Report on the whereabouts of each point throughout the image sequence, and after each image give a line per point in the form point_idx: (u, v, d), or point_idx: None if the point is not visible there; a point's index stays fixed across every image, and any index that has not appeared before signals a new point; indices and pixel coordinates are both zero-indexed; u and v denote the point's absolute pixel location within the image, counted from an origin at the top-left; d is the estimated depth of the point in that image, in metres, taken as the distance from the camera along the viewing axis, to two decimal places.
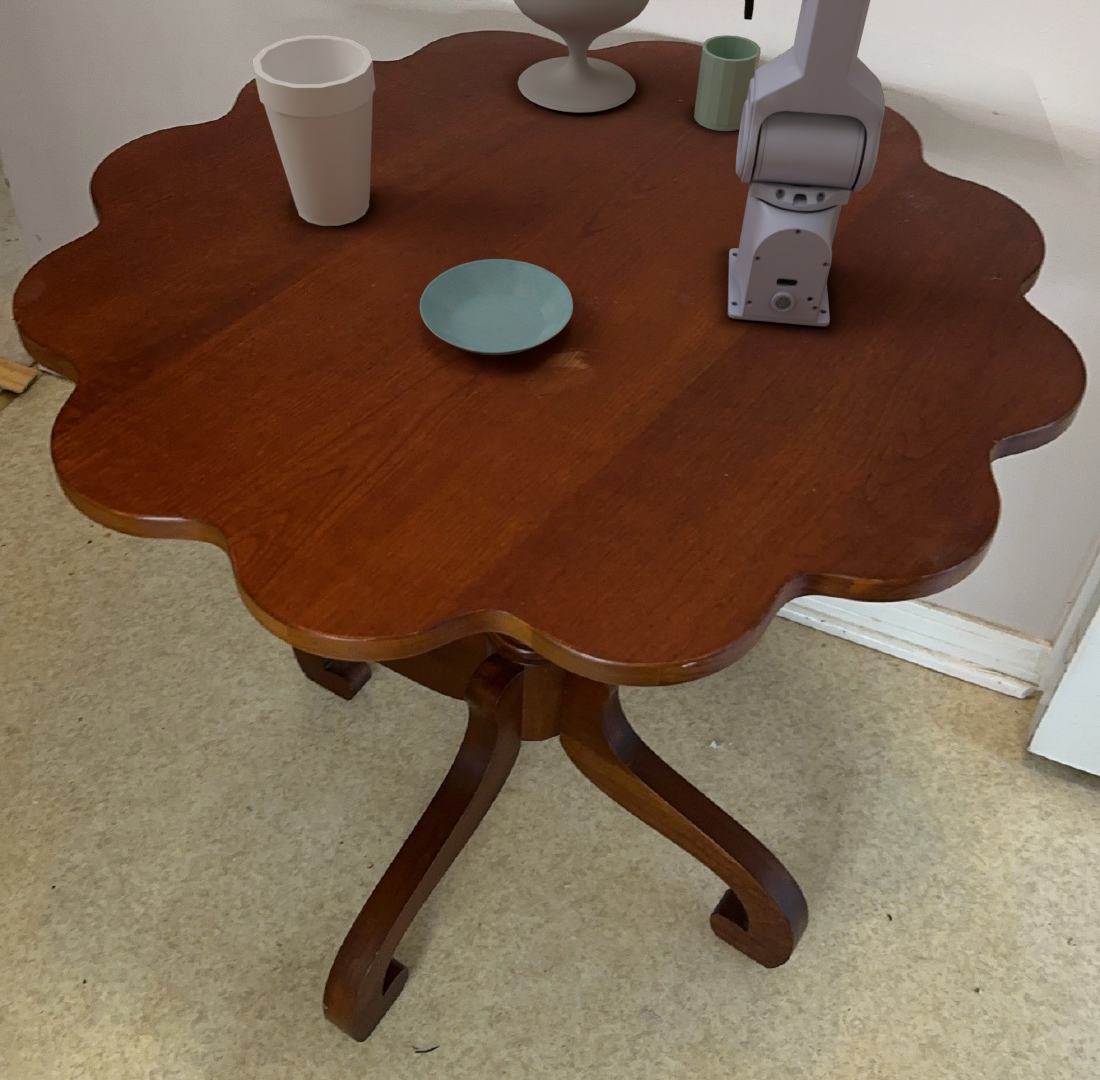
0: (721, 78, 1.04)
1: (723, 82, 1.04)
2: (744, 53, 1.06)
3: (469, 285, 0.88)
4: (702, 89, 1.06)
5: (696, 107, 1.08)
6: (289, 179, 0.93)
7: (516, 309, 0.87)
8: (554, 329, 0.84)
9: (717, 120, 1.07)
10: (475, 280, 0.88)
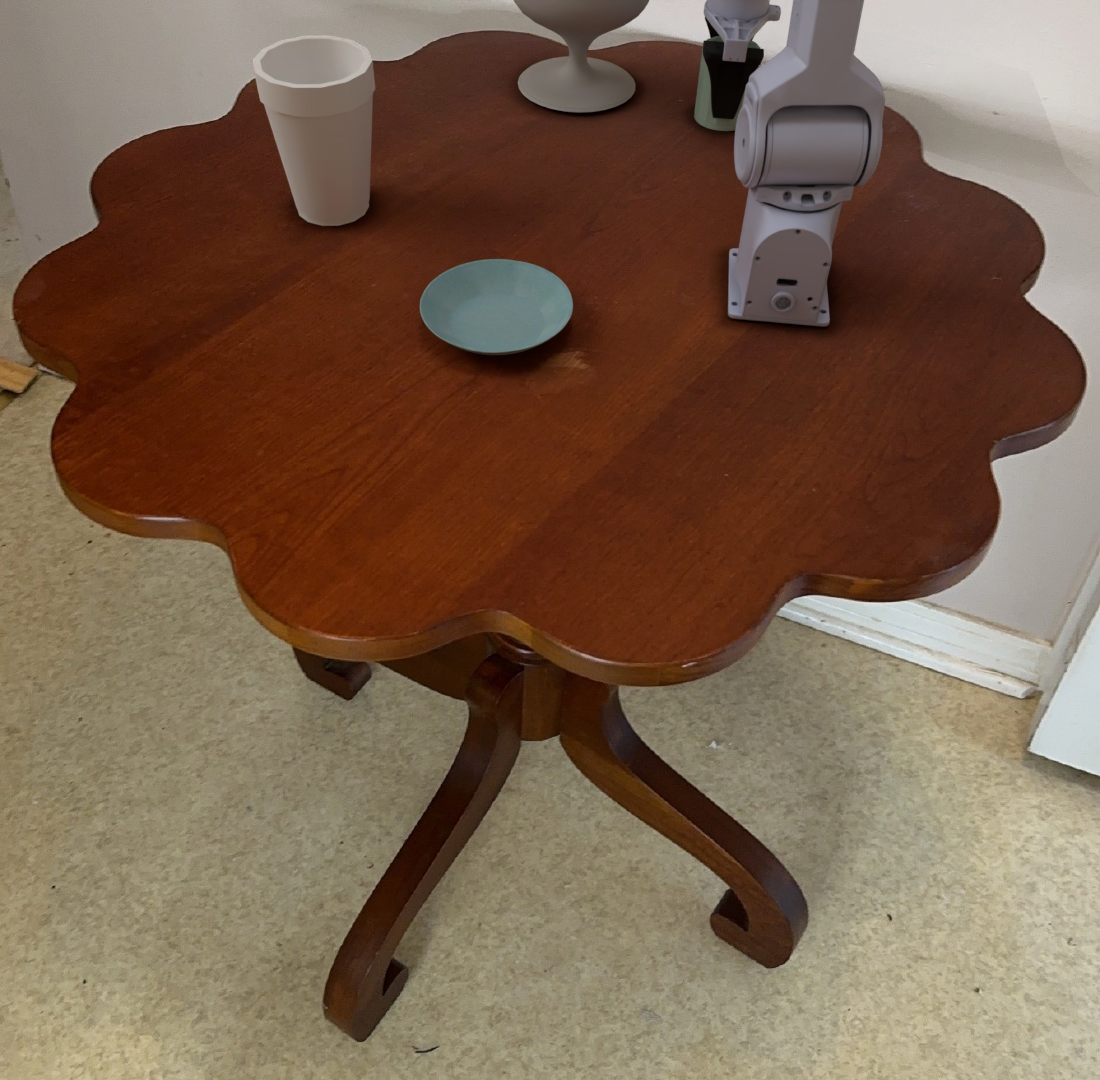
0: None
1: None
2: None
3: (469, 285, 0.88)
4: (702, 88, 1.06)
5: (696, 107, 1.08)
6: (289, 179, 0.93)
7: (516, 309, 0.87)
8: (554, 329, 0.84)
9: (717, 120, 1.07)
10: (475, 280, 0.88)
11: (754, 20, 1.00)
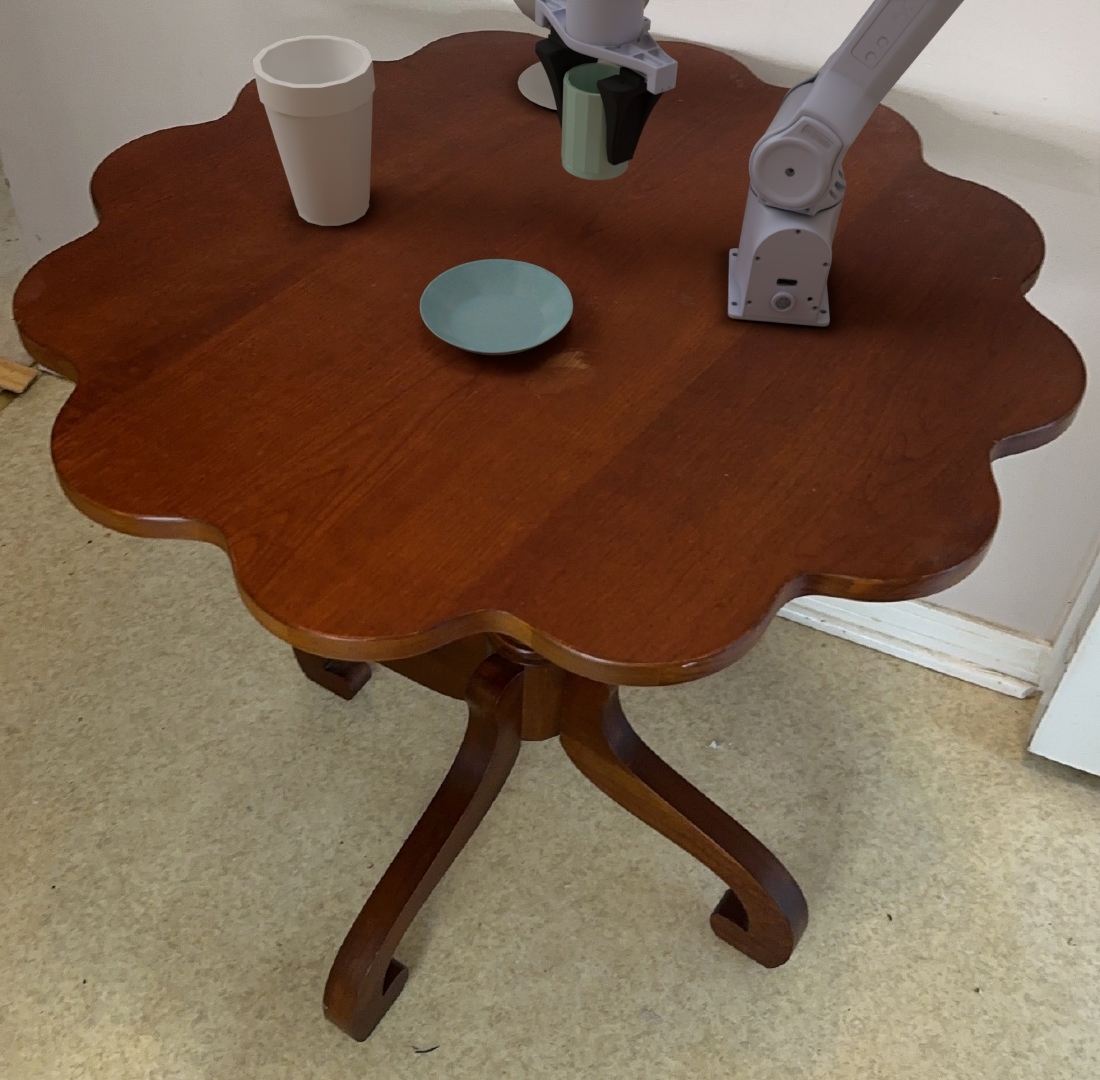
0: None
1: None
2: (596, 81, 0.87)
3: (469, 285, 0.88)
4: (586, 137, 0.85)
5: (576, 162, 0.87)
6: (289, 179, 0.93)
7: (516, 309, 0.87)
8: (554, 329, 0.84)
9: (612, 166, 0.87)
10: (475, 280, 0.88)
11: (641, 37, 0.81)
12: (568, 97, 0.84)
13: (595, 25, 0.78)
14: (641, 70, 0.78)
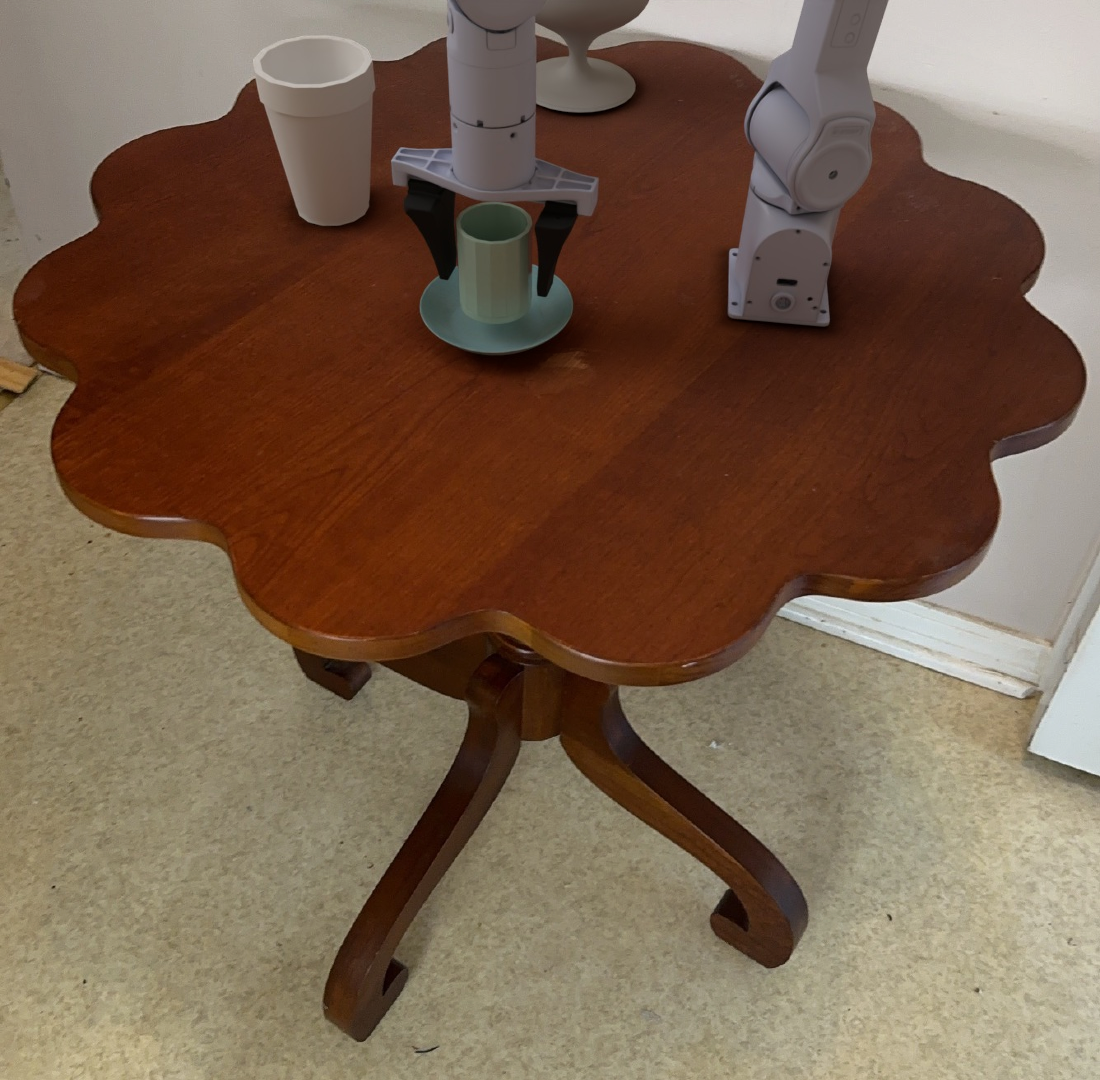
0: (526, 254, 0.79)
1: (528, 257, 0.80)
2: (472, 223, 0.81)
3: None
4: (505, 284, 0.80)
5: (496, 310, 0.81)
6: (289, 179, 0.93)
7: None
8: (554, 329, 0.84)
9: (527, 300, 0.83)
10: None
11: (535, 164, 0.77)
12: (477, 252, 0.78)
13: (508, 170, 0.73)
14: (570, 198, 0.75)
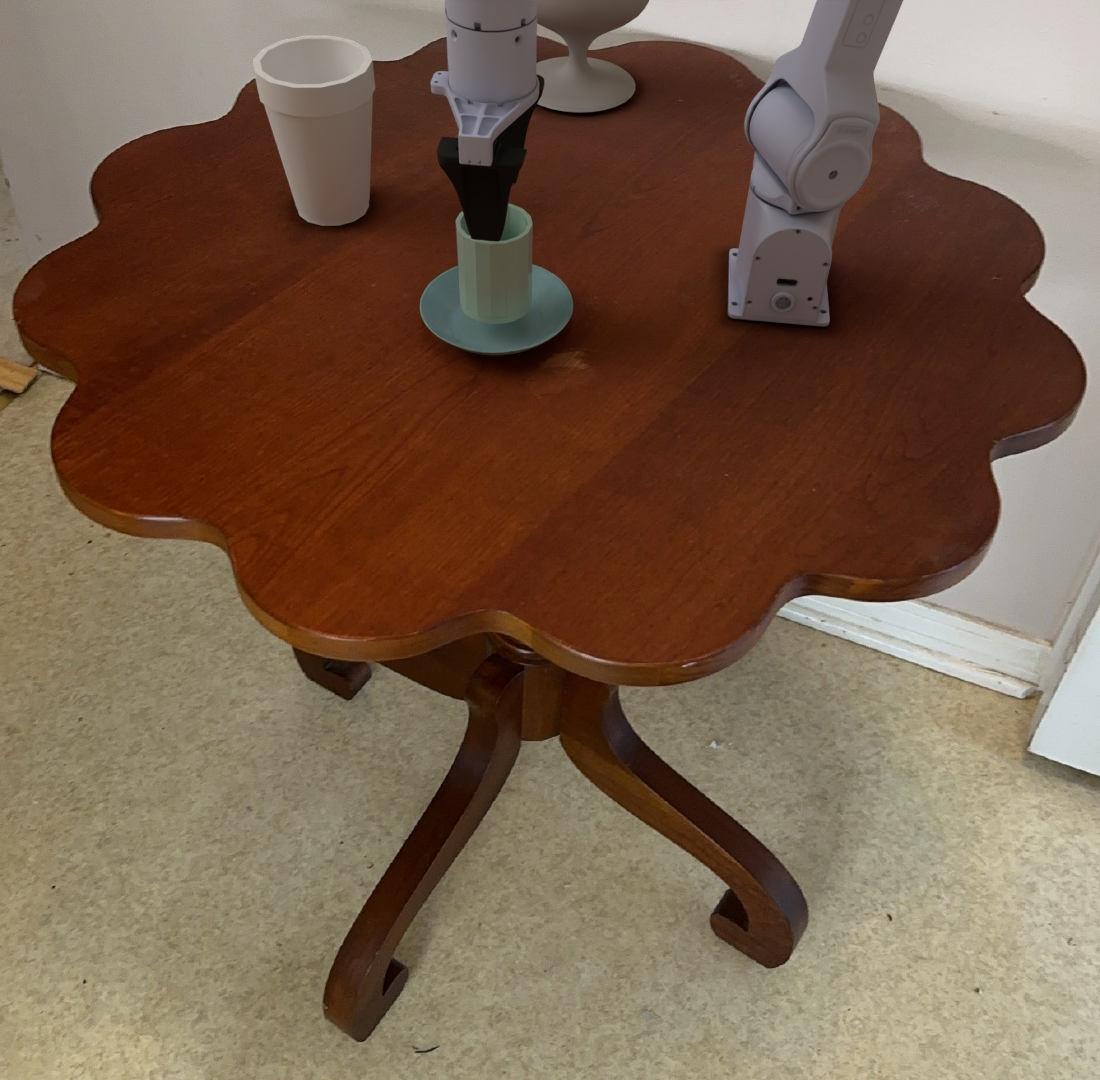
0: (527, 254, 0.79)
1: (528, 257, 0.80)
2: None
3: None
4: (505, 284, 0.80)
5: (496, 310, 0.81)
6: (289, 179, 0.93)
7: None
8: (554, 329, 0.84)
9: (528, 300, 0.83)
10: None
11: None
12: (477, 252, 0.78)
13: None
14: None
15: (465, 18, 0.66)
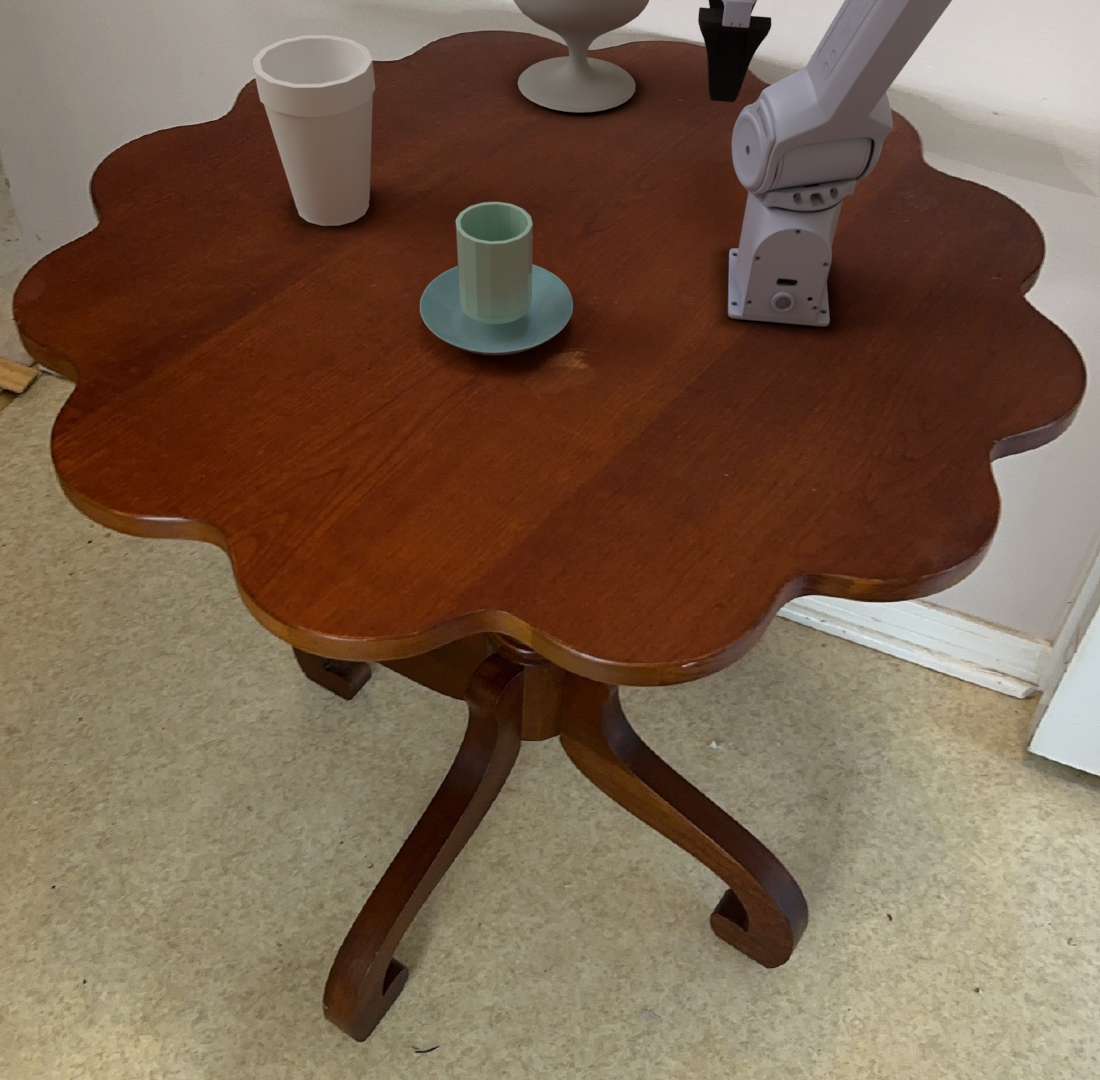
0: (527, 254, 0.79)
1: (528, 257, 0.80)
2: (473, 223, 0.81)
3: None
4: (505, 284, 0.80)
5: (496, 310, 0.81)
6: (289, 179, 0.93)
7: None
8: (554, 329, 0.84)
9: (527, 300, 0.83)
10: None
11: None
12: (477, 252, 0.78)
13: None
14: None
15: None
